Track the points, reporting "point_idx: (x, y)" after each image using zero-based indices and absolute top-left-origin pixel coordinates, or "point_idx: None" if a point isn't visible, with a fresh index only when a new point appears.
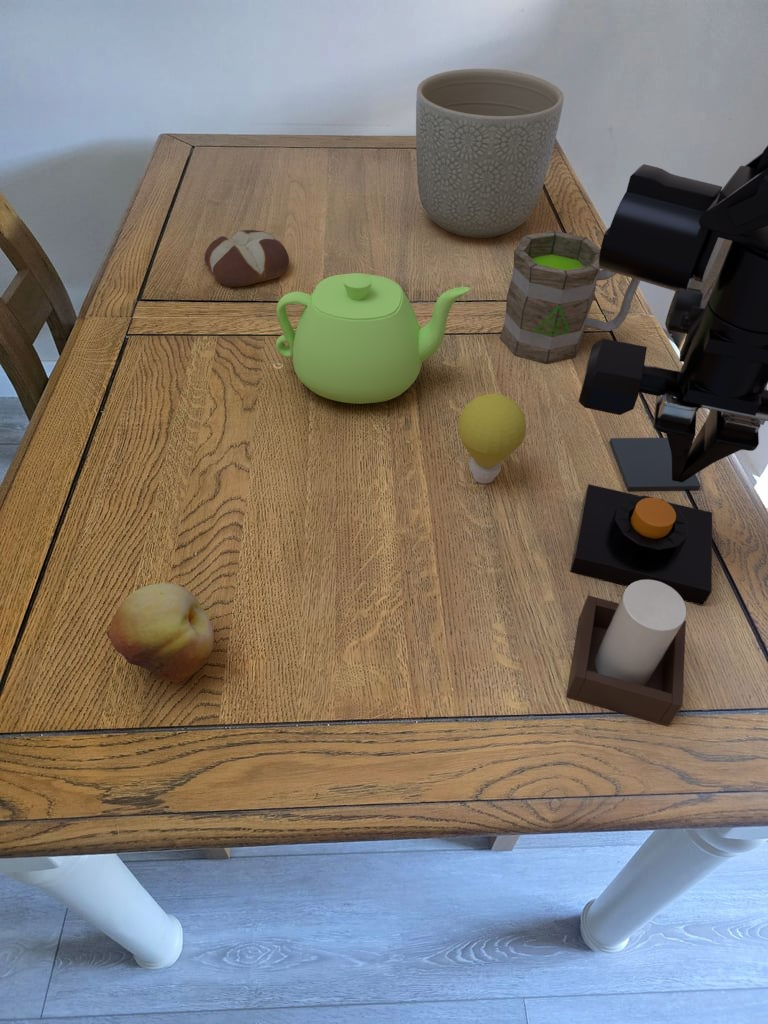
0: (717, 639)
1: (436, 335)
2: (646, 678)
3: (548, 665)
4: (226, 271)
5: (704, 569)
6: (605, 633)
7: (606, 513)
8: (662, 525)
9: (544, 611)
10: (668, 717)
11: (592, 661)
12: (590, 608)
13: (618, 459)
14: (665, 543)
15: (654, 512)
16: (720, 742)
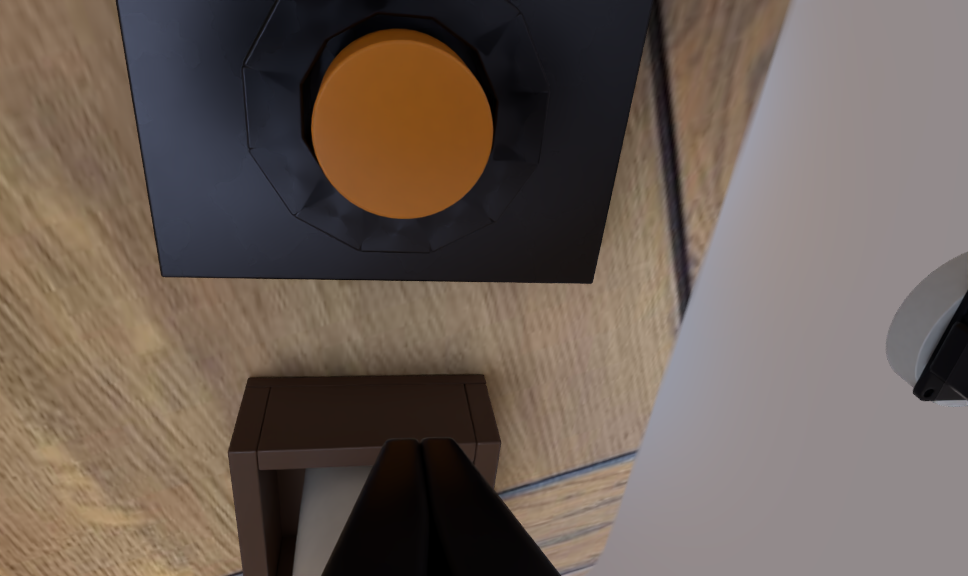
0: (589, 334)
1: None
2: None
3: (208, 497)
4: None
5: (587, 210)
6: (295, 546)
7: (224, 21)
8: (432, 210)
9: (151, 383)
10: None
11: (300, 481)
12: (244, 485)
13: None
14: (454, 222)
15: (397, 146)
16: (553, 521)
